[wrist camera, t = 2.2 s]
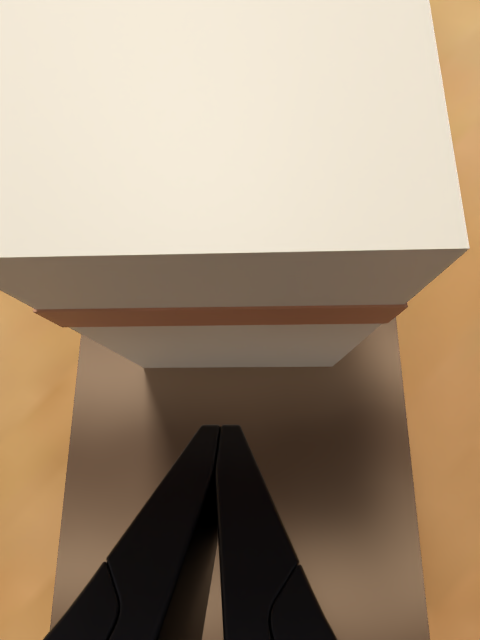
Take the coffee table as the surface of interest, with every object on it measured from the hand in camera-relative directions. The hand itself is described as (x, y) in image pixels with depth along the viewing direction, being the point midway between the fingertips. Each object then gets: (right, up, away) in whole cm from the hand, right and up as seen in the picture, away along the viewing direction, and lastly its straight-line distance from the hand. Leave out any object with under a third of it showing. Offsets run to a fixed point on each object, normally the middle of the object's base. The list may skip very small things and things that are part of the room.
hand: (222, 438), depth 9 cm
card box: (0, +3, +7) cm, 8 cm away
